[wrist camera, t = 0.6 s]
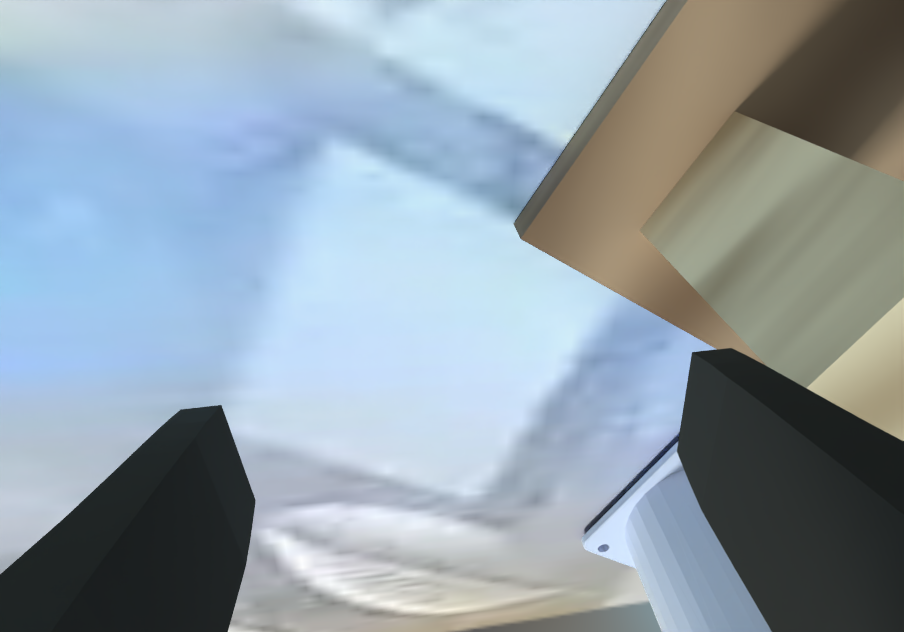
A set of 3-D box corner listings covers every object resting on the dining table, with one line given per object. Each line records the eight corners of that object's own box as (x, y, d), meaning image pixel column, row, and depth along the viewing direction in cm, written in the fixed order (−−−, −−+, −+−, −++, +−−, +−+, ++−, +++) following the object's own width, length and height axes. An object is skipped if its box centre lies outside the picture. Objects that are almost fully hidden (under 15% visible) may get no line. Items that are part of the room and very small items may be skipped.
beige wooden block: (828, 182, 17) (1113, 322, 10) (732, 287, 19) (924, 469, 12) (734, 111, 16) (990, 217, 9) (639, 230, 18) (796, 396, 11)
